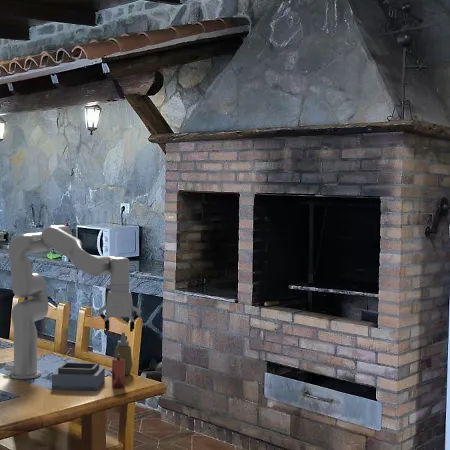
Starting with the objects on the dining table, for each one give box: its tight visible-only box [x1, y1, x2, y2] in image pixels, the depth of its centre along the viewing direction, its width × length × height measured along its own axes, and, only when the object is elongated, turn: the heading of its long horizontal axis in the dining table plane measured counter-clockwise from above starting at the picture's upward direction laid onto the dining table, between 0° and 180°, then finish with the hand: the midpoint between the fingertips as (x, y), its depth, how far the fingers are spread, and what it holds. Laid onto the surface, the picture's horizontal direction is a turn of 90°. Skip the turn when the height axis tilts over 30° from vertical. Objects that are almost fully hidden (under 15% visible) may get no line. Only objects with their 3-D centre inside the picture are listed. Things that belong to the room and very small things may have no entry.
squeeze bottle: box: [113, 331, 133, 376], centre depth 302 cm, size 8×8×18 cm
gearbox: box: [51, 361, 106, 392], centre depth 284 cm, size 18×13×8 cm
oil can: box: [111, 353, 126, 390], centre depth 283 cm, size 5×5×13 cm
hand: (119, 330), depth 282 cm, fingers open, 9 cm apart
